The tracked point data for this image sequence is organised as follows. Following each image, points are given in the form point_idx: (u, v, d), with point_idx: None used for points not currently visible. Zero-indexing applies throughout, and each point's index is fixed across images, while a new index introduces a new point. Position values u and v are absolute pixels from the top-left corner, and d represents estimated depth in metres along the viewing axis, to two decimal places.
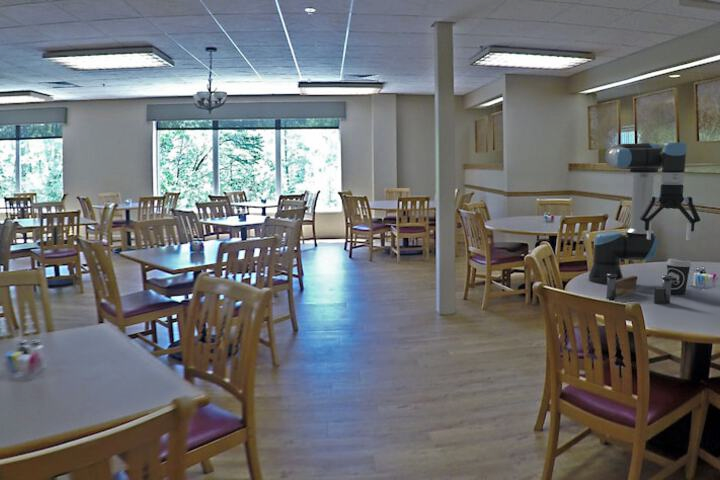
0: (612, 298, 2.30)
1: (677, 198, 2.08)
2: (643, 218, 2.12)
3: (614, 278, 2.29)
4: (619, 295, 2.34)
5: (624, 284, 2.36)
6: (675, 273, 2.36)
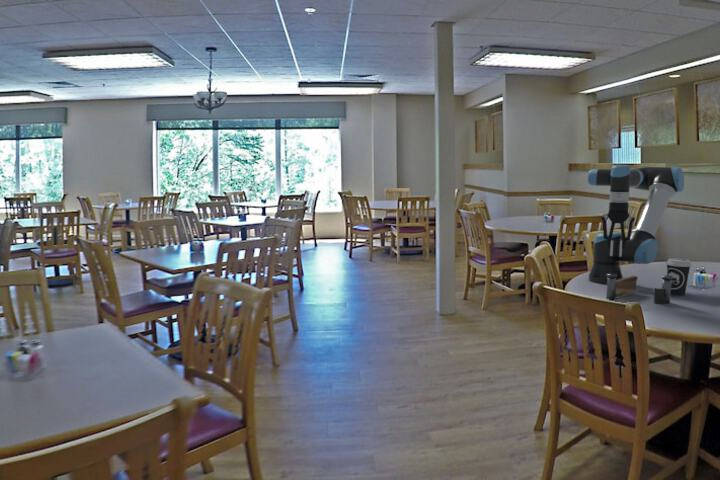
0: (612, 298, 2.30)
1: (623, 213, 2.36)
2: (605, 237, 2.40)
3: (614, 278, 2.29)
4: (619, 295, 2.34)
5: (624, 284, 2.36)
6: (675, 273, 2.36)
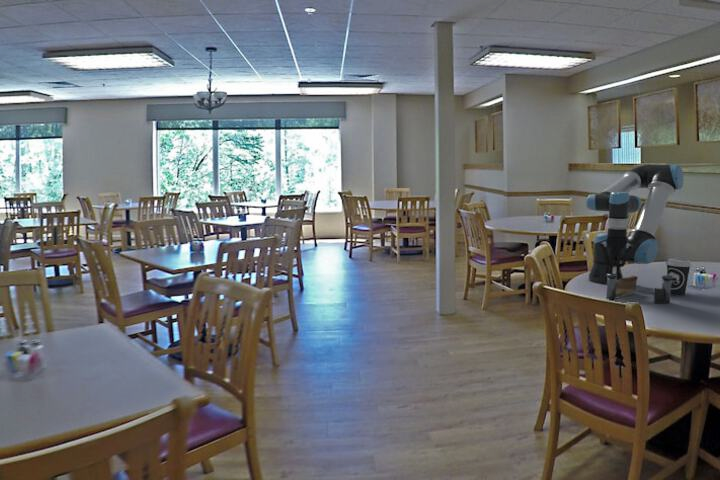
0: (612, 298, 2.30)
1: (622, 239, 2.37)
2: (607, 263, 2.41)
3: (614, 278, 2.29)
4: (619, 295, 2.34)
5: (624, 284, 2.36)
6: (675, 273, 2.36)
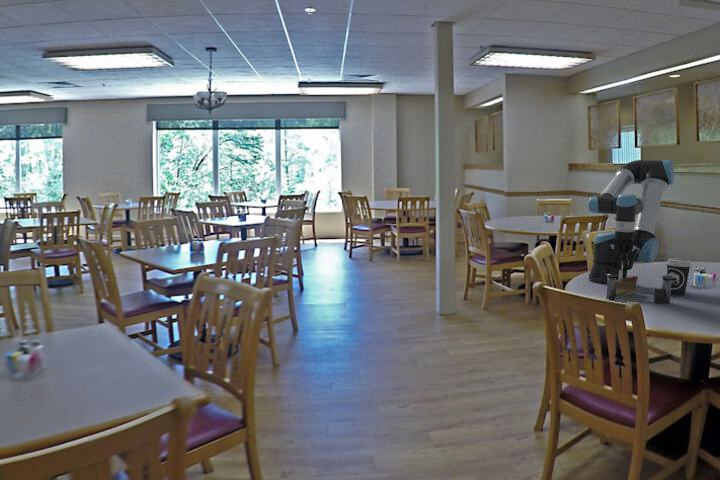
0: (612, 298, 2.30)
1: (628, 242, 2.35)
2: (613, 265, 2.40)
3: (614, 278, 2.29)
4: (619, 295, 2.34)
5: (624, 284, 2.35)
6: (675, 273, 2.36)
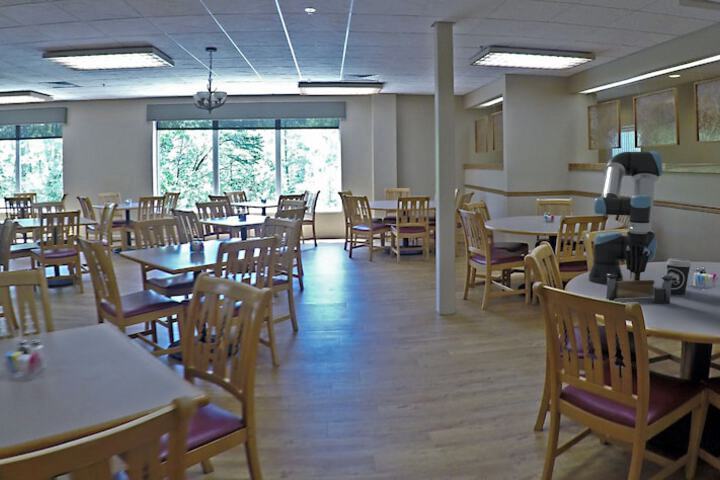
0: (612, 298, 2.30)
1: (639, 244, 2.30)
2: (627, 267, 2.37)
3: (614, 278, 2.29)
4: (623, 297, 2.32)
5: (632, 286, 2.31)
6: (675, 273, 2.36)
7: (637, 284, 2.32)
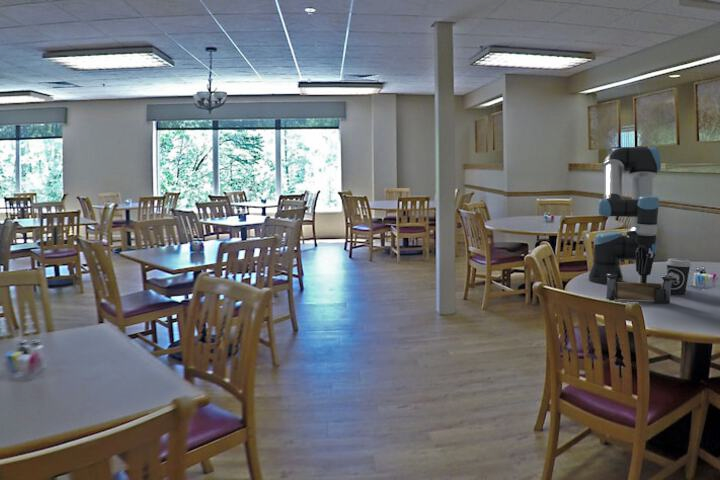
0: (612, 298, 2.30)
1: (645, 246, 2.26)
2: (636, 269, 2.33)
3: (614, 278, 2.29)
4: (625, 298, 2.30)
5: (634, 288, 2.28)
6: (675, 273, 2.36)
7: (641, 286, 2.27)
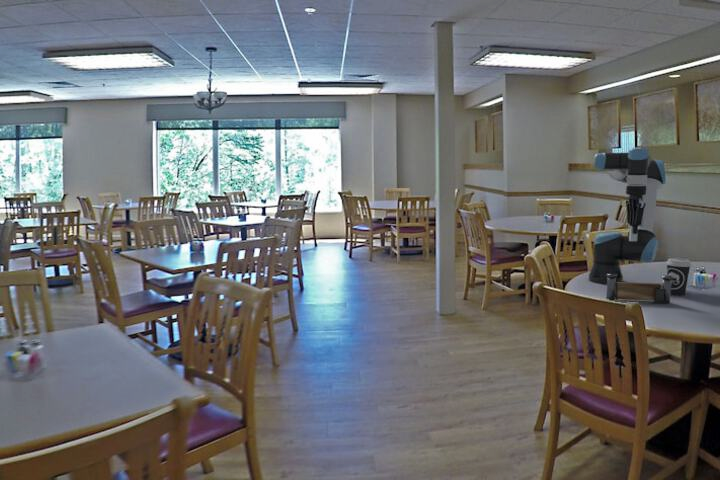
0: (612, 298, 2.30)
1: (635, 197, 2.30)
2: (627, 221, 2.37)
3: (614, 278, 2.29)
4: (625, 298, 2.30)
5: (634, 288, 2.28)
6: (675, 273, 2.36)
7: (641, 286, 2.27)
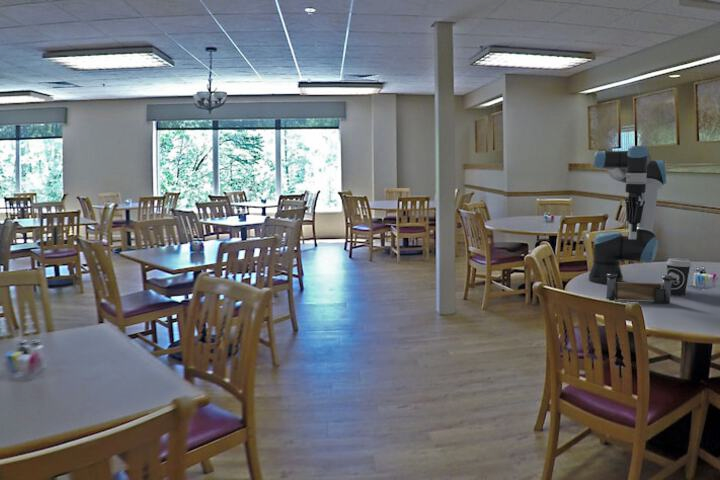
0: (612, 298, 2.30)
1: (635, 194, 2.30)
2: (627, 219, 2.37)
3: (614, 278, 2.29)
4: (625, 298, 2.30)
5: (634, 288, 2.28)
6: (675, 273, 2.36)
7: (641, 286, 2.27)
